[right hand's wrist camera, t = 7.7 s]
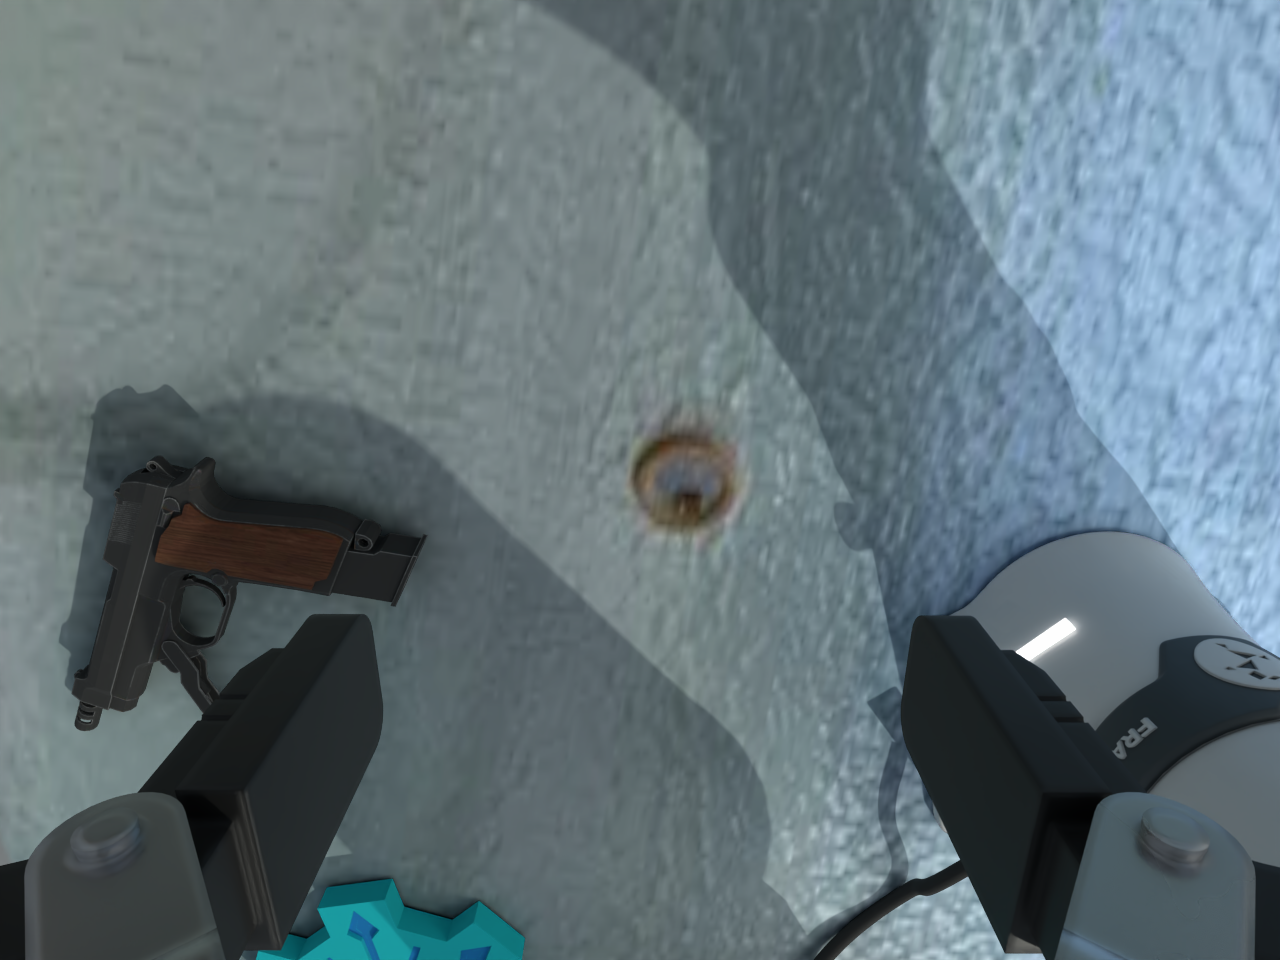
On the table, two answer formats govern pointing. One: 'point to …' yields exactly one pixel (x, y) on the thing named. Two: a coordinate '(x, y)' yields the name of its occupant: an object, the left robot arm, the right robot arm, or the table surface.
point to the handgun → (215, 573)
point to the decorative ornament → (397, 930)
